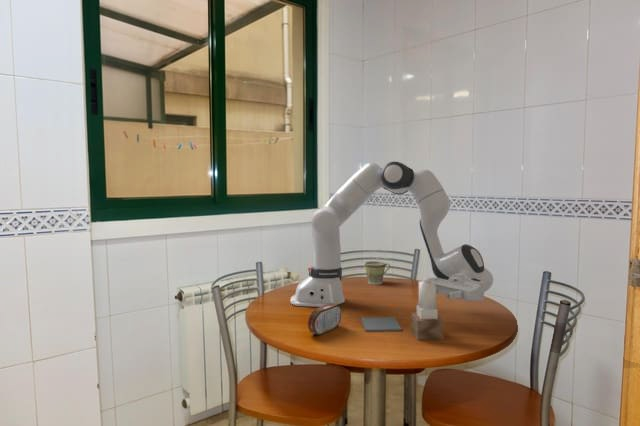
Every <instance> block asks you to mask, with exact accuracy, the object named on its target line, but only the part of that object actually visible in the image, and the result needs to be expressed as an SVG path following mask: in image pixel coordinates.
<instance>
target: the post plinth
mask: <svg viewBox="0 0 640 426" xmlns="http://www.w3.org/2000/svg"><path fill="white" fill-rule="evenodd" d="M410 315H411V316H410V330H411V333H412V334H413V335H414V337H415V339H416V340H417V341H429V340H431V341H432V340H433V341H434V340H438V341H439V340H442V341H443V340H444V319H443V318H442V317H441V316H440V315H438V319H420V318H419V316H418V315H417V312H411V314H410Z"/></svg>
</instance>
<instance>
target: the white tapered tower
mask: <svg viewBox="0 0 640 426" xmlns="http://www.w3.org/2000/svg"><path fill="white" fill-rule="evenodd" d="M431 278H432V277H424V278H423V279H422V280H423V281H422V280H420V281H418V304H417V305H416V313H417V315H418V316H419V318H420V319H438V316H439V314H438V313H439V310H438V308H437V307H436V304H437V303H436V300H437V299H436V298H437V295H436V294H437V293H436V282H433V281H431Z"/></svg>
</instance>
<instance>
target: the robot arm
mask: <svg viewBox="0 0 640 426" xmlns="http://www.w3.org/2000/svg"><path fill="white" fill-rule="evenodd" d="M379 189H384V190H386V191H388V192H391V194H393V195H404V194H406V193H408V192H409V193H411V194H412V195H413V197H414V200H415V201H416V203H417V205H418V207H419V212H420V219H419V228H420V232H421V235H422V238H423V241H424V244H425V247H426V251H427V252H428V255H429V259H430V264H431V269H432V272H433V275H434V276H435V277H430V278H431V281H433V282H436V294H437V295H438V294H439V295H443V296H447V297H446V298H448V299H451V300H452V299H456V300H461V301H462V300H463V301H467V302H472V303H474V302H479V301H480V302H481V301H484V298H485V293H486V292H487V291H489V290H490V289H491V288H492V286H493V283H494V276H493V274H492V273H491V271H490V270H489V269H488V268H486V267H485V263H484V260H483V256H482V255H481V253H480V252H479V250H478V249H476V248H475V247H473V245H469V244H462V245H460V246H458V247H456V248H454V249H452V250H450V251H448V252H446V253H444V250H443V247H442V244H441V241H440V238H439V236H438V229H439V226H440V225H441V223H442V221H444V219H445V218H446V216H447V215H448V213H449V211H450V206H451V204H450V203H451V202H450V199H449V196H448V195H447V192H446V191H445V189H444V186H443V185H442V184H441V182H440V181H439V179H438V178H437V176H435V174H434V173H433V172H432V171H431V170H429V169H421V170H420V169H419V170H417V171H416V172H414V170H413V168H410V167H409V166H408V165H406V164H404V163H402V162H400V161H389V162H387V163H386V164H385V165H384V166H383V167H381V165H379V164H377V163H375V162H368V163H366V164H365V165H364V166H363V165H362V166H361V168H359V169H358V170H357V171H356V172H355V173H353V174H352V175H351V177H349V178H348V179H347V181H346V182H344V183H343V184H342V186H341V187H339V189H338V190H336V192H335V193H334V194H333V195H332V196H331V197H330V198H329V200H327V202H325V204H324V205H323V206H322V207H321V208H319V209H317V210H316V211H315V212H314V213H313V215H312V216H311V222H310V223H311V234H312V236H311V237H312V243H313V267H312V266H308V267H307V271H308V276H307V277H306V278H305V279H304V280H301V282H300V283H298V285H297V287H296V290H295V294H293V295H292V296H291V297H290V301H289V303H290V302H291V303H290V304H291V305H292V304H293V305H292V306H294V305H295V307H296V306H298V307H316V308H318V307H321V306H324V305H327V304H330V303H333V304H335V305H342V303H345V301H346V299H345V297H344V293H343V284H342V280H343V270H342V269H343V268H342V266H341V265H342V262H341V261H342V259H341V255H342V254H341V252H342V251H341V237H340V235H341V234H340V227H341V226H342V225H343V224H344V223H345V222H346V221H347V220H348V219H350V218H351V216H352V215H353V214H354V213H355V212H357V211H358V209H359V208H360V207H361V206H362V205H363V204H364V203H366V201H367V200H369V198H371V196H372V195H374V193H376V192H377V190H379ZM421 281H423V279H422V280H421Z"/></svg>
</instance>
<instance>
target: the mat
mask: <svg viewBox="0 0 640 426" xmlns="http://www.w3.org/2000/svg"><path fill="white" fill-rule="evenodd" d="M360 320H361V323H362V325H363V328H364V331H365V332H403V328H402V326H401V325H400V324H399V322H398V320H397V319H396V317H393V316H388V317H384V316H383V317H382V316H381V317H360Z"/></svg>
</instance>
